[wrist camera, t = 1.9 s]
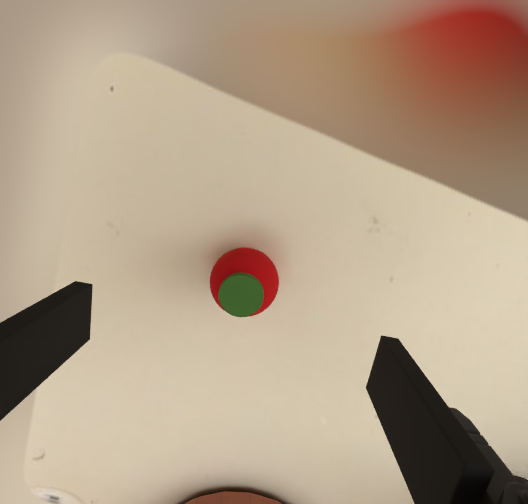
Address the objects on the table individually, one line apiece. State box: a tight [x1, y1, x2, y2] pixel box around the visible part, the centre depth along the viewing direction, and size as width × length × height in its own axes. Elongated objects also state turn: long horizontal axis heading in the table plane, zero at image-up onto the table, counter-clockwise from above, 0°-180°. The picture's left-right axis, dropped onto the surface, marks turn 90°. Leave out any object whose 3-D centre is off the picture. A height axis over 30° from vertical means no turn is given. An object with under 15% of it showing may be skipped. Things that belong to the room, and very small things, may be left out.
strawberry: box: [210, 248, 279, 317], centre depth 21 cm, size 4×4×5 cm
